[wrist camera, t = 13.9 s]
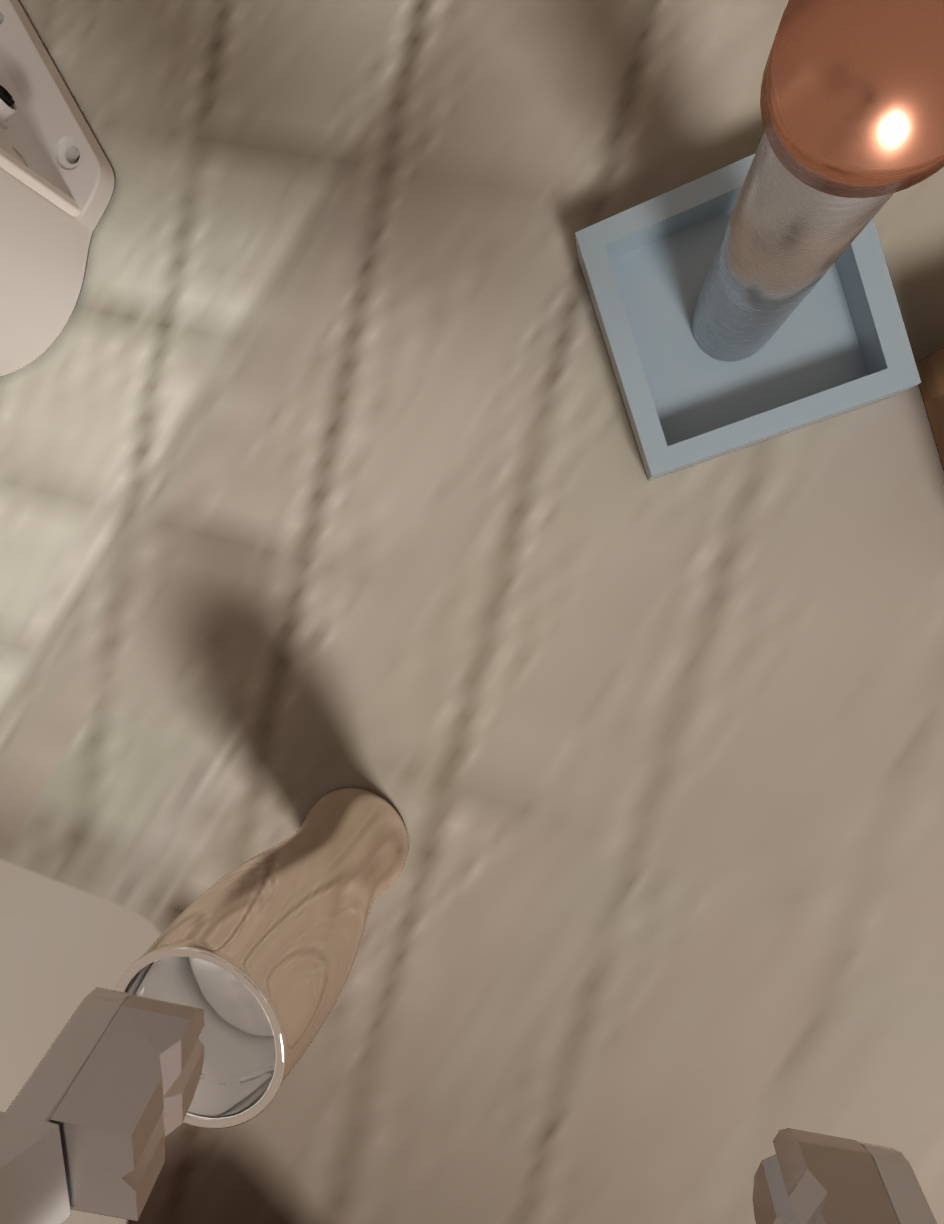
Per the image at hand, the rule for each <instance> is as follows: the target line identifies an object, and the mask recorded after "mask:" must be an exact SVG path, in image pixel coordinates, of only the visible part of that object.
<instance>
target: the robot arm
mask: <svg viewBox="0 0 944 1224" xmlns="http://www.w3.org/2000/svg"><path fill="white" fill-rule="evenodd" d="M79 156H80V157H79ZM78 157H79V160H78V162H77V163H76V161H77V158H78ZM114 182H115V179H114V173H113V170H112V168H111V166H110V164H109V162H108V160H107V158H106V156H105V155H104V153H103V151H102V149H101V148H100V146H99V144H98V142H97V140H96V139H95V137H94V135H93V133H92V131H91V130H90V128H89V126H88V124H87V123H86V121H85V119H84V117H83V115H82V114H81V112H80V110H79V108H78V106H77V105H76V103H75V101H74V99H73V98H72V96H71V94H70V92H69V90H68V89H67V87H66V85H65V83H64V81H63V80H62V78H61V76H60V74H59V73H58V71H57V69H56V67H55V65H54V64H53V62H52V60H51V58H50V56H49V55H48V53H47V51H46V49H45V47H44V46H43V44H42V42H41V40H40V39H39V37H38V35H37V33H36V31H35V30H34V28H33V26H32V24H31V22H30V21H29V19H28V17H27V15H26V14H25V12H24V10H23V8H22V6H21V5H20V3H19V1H18V0H0V376H3V375H6V374H9V373H12V372H14V371H16V370H19V369H21V368H22V367H24V366H26V365H28V364H29V363H31V362H32V361H33V360H35V359H36V358H37V357H39V356H40V355H41V354H42V353H43V352H44V351H45V350H46V349H47V348H48V347H49V346H50V345H51V344H52V343H53V342H54V340H55V339H56V338H57V337H58V335H59V334H60V332H61V331H62V330H63V328H64V326H65V325H66V323H67V321H68V319H69V317H70V315H71V314H72V311H73V309H74V307H75V304H76V302H77V299H78V296H79V293H80V290H81V286H82V283H83V278H84V274H85V267H86V261H87V255H88V249H89V244H90V240H91V236H92V233H93V231H94V229H95V227H96V226H97V224H98V222H99V220H100V218H101V217H102V215H103V213H104V211H105V209H106V207H107V205H108V203H109V201H110V198H111V196H112V193H113V190H114ZM204 1025H205V1024H204V1009H199V1008H195V1007H190V1006H185V1005H180V1004H175V1003H170V1002H165V1001H160V1000H155V999H151V998H146V997H141V996H137V995H134V994H130V993H125V992H120V991H115V990H109V989H104V988H99V987H96V988H95V989H94V990H93V991H92V992H91V993H90V994H89V995H88V996H87V997H85V998H84V999H83V1001H82V1002H81V1004H80V1005H79V1006H78V1008H77V1010H76V1011H75V1012H74V1014H73V1015H72V1017H71V1018H70V1019H69V1021H68V1022H67V1024H66V1025H65V1027H64V1028H63V1030H62V1031H61V1033H60V1034H59V1035H58V1037H57V1038H56V1040H55V1041H54V1043H53V1044H52V1045H51V1047H50V1048H49V1050H48V1051H47V1053H46V1054H45V1056H44V1057H43V1059H42V1060H41V1061H40V1063H39V1064H38V1066H37V1067H36V1069H35V1070H34V1072H33V1073H32V1075H31V1076H30V1077H29V1079H28V1080H27V1082H26V1083H25V1085H24V1086H23V1087H22V1089H21V1090H20V1092H19V1093H18V1095H17V1096H16V1098H15V1099H14V1100H13V1102H12V1103H11V1105H10V1106H9V1108H8V1109H7V1111H6V1112H1V1111H0V1224H62V1223H63V1222H64V1221H65V1220H66V1219H67V1218H68V1217H69V1216H70V1215H71V1209H72V1210H78V1211H84V1212H89V1213H94V1214H100V1215H106V1216H112V1217H117V1218H123V1219H128V1220H134V1221H138V1219H139V1217H140V1215H141V1213H142V1210H143V1208H144V1206H145V1204H146V1202H147V1199H148V1197H149V1195H150V1193H151V1191H152V1189H153V1186H154V1184H155V1182H156V1180H157V1178H158V1176H159V1173H160V1171H161V1169H162V1167H163V1165H164V1163H165V1137H166V1136H167V1135H168V1134H170V1133H171V1132H172V1131H173V1130H174V1129H176V1128H177V1127H178V1126H179V1125H181V1124H182V1123H183V1121H184V1118H185V1116H186V1114H187V1112H188V1109H189V1107H190V1105H191V1102H192V1100H193V1098H194V1095H195V1091H196V1088H197V1085H198V1082H199V1079H200V1076H201V1073H202V1067H203V1062H204V1045H203V1044H202V1042H201V1041H200V1040H199V1039H198V1038H199V1035H200V1033H201V1031H202V1029H203V1027H204ZM773 1143H774V1147H775V1150H776V1154H775V1155H773V1156H771V1157H769V1158H766V1159H764V1160H762V1161H761V1163H760V1166H759V1168H758V1170H757V1172H756V1174H755V1176H754V1189H753V1205H754V1214H755V1221H756V1224H937V1222H936V1220H935V1218H934V1216H933V1213H932V1211H931V1209H930V1207H929V1205H928V1202H927V1200H926V1198H925V1196H924V1194H923V1191H922V1189H921V1187H920V1185H919V1183H918V1180H917V1178H916V1176H915V1174H914V1172H913V1169H912V1167H911V1165H910V1163H909V1162H908V1161H907V1159H906V1158H905V1157H904V1156H903V1154H902V1153H901V1152H899V1151H897V1150H894V1149H892V1148H888V1147H883V1146H878V1145H872V1144H867V1143H862V1142H857V1141H856V1140H851V1139H845V1138H840V1137H834V1136H829V1135H823V1134H818V1133H812V1132H807V1131H801V1130H796V1129H790V1128H786V1129H782V1130H779V1132H778V1134H777V1135H776V1137H775V1139H774V1140H773Z"/></svg>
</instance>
